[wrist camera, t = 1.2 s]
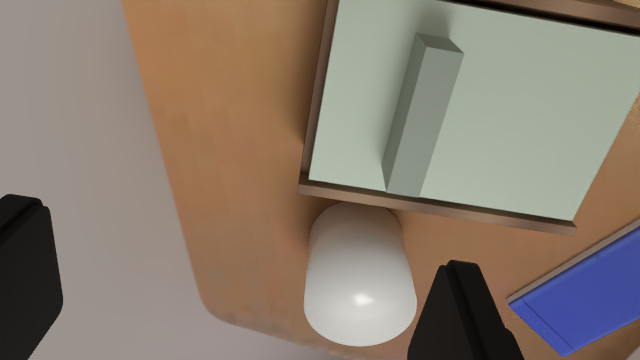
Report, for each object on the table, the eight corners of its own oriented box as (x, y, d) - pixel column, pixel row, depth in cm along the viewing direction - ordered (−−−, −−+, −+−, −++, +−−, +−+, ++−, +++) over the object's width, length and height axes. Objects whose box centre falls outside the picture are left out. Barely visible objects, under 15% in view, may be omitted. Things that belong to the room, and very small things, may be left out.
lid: (652, 37, 22) (709, 57, 18) (564, 211, 27) (596, 252, 23) (342, -19, 21) (343, -9, 18) (309, 170, 26) (305, 207, 22)
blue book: (663, 217, 32) (509, 307, 36) (714, 283, 34) (564, 360, 39) (650, 205, 33) (503, 293, 37) (700, 269, 36) (557, 345, 40)
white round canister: (413, 208, 33) (430, 272, 27) (390, 280, 36) (401, 352, 30) (317, 193, 33) (313, 254, 27) (303, 268, 36) (296, 338, 30)
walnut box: (614, 1, 26) (688, 21, 20) (532, 183, 32) (572, 236, 26) (335, -51, 25) (335, -44, 20) (303, 146, 31) (296, 193, 25)
